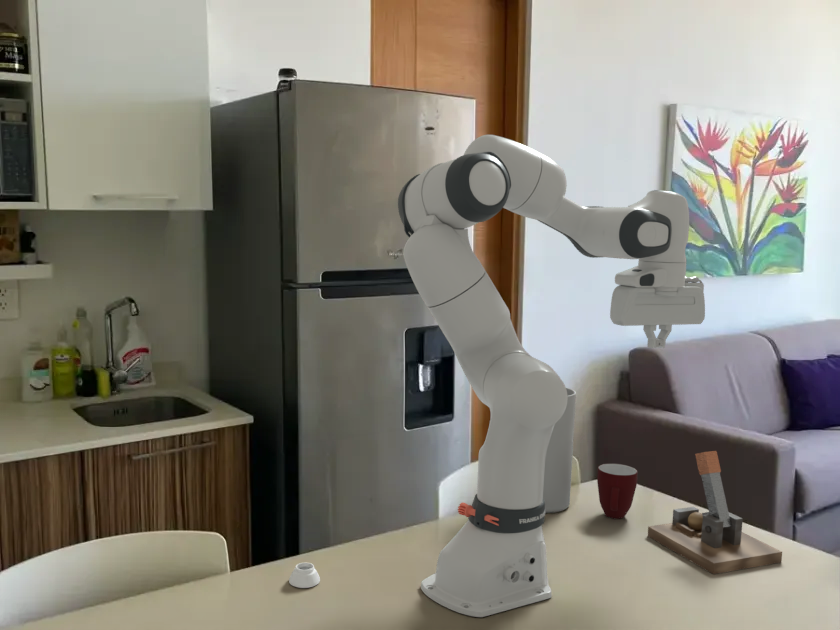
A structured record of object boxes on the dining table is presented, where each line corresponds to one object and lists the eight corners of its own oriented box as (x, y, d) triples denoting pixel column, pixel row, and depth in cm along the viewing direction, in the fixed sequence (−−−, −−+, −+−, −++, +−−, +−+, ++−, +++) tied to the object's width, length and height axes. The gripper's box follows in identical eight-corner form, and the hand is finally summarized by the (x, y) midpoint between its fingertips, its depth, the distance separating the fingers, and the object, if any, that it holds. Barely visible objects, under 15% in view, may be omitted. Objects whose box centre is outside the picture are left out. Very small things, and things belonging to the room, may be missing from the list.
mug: (637, 528, 162) (640, 480, 161) (596, 525, 163) (599, 477, 162) (632, 510, 173) (635, 465, 171) (594, 507, 174) (597, 462, 173)
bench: (713, 574, 142) (716, 536, 141) (647, 536, 159) (650, 501, 158) (781, 562, 148) (784, 525, 147) (711, 526, 165) (714, 493, 164)
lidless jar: (284, 588, 132) (314, 591, 131) (285, 570, 131) (314, 574, 130) (295, 575, 136) (323, 578, 136) (295, 558, 136) (323, 561, 135)
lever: (721, 527, 149) (704, 451, 153) (704, 529, 153) (688, 455, 157) (733, 526, 150) (716, 450, 154) (716, 527, 154) (700, 454, 158)
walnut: (700, 534, 155) (701, 517, 154) (683, 529, 157) (685, 512, 157) (709, 530, 157) (710, 513, 157) (692, 525, 160) (694, 508, 159)
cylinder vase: (509, 511, 170) (515, 394, 167) (512, 491, 182) (518, 382, 179) (570, 516, 168) (576, 398, 165) (569, 496, 180) (575, 386, 177)
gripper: (692, 275, 162) (687, 343, 163) (607, 275, 154) (603, 346, 155) (715, 278, 156) (709, 348, 158) (628, 277, 148) (623, 352, 150)
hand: (656, 347), depth 156 cm, fingers closed
